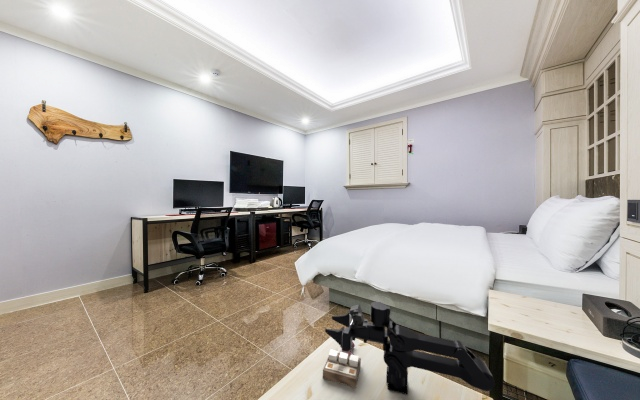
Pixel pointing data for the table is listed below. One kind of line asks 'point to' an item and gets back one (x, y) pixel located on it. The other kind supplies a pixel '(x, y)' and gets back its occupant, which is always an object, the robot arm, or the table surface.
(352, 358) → the key
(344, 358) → the key middle
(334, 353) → the key
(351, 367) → the keypad
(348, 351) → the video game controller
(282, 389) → the table surface
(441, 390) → the table surface
